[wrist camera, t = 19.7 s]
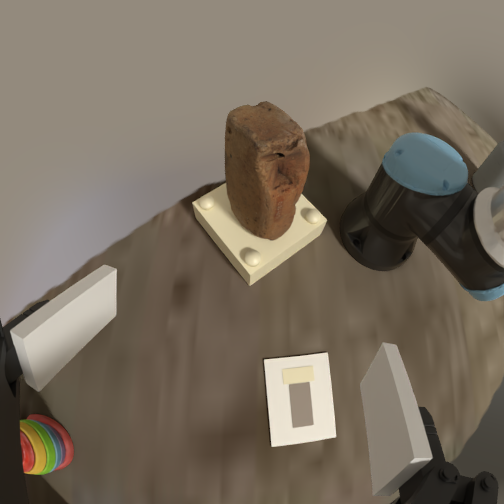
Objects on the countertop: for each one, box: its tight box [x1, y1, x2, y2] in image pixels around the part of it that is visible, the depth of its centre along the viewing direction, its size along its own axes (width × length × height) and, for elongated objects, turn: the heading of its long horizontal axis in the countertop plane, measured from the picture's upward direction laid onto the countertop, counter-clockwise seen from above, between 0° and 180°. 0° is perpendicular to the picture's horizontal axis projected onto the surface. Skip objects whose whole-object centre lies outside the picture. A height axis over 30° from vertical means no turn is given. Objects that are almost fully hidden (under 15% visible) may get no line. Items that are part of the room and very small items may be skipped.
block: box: [225, 101, 310, 241], centre depth 41 cm, size 11×8×20 cm
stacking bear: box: [20, 414, 74, 475], centre depth 28 cm, size 11×10×18 cm
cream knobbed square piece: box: [192, 183, 327, 286], centre depth 52 cm, size 16×16×6 cm
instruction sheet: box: [264, 352, 336, 447], centre depth 42 cm, size 10×14×1 cm
